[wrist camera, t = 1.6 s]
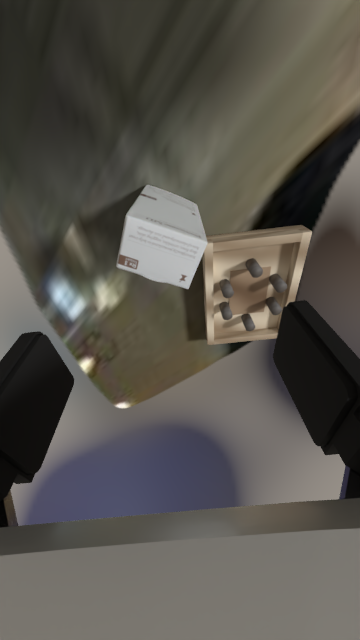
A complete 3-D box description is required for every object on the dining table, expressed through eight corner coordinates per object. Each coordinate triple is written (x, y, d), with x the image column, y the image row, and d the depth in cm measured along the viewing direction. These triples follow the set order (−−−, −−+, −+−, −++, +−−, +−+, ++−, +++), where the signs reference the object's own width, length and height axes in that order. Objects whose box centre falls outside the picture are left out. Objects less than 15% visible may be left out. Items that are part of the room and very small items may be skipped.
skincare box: (198, 202, 25) (214, 239, 16) (184, 241, 28) (191, 292, 18) (143, 181, 24) (126, 207, 14) (134, 224, 26) (114, 270, 17)
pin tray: (201, 236, 27) (205, 247, 24) (301, 224, 27) (317, 234, 24) (205, 333, 37) (208, 349, 34) (278, 326, 37) (288, 342, 34)
